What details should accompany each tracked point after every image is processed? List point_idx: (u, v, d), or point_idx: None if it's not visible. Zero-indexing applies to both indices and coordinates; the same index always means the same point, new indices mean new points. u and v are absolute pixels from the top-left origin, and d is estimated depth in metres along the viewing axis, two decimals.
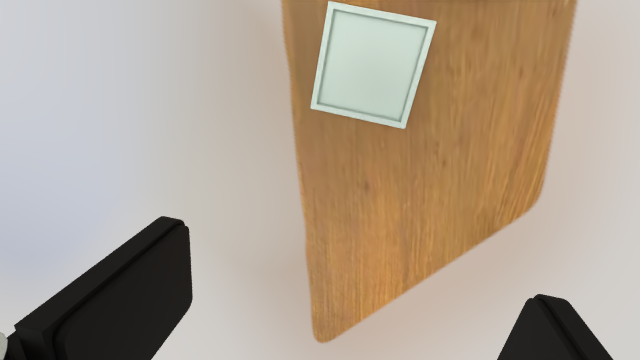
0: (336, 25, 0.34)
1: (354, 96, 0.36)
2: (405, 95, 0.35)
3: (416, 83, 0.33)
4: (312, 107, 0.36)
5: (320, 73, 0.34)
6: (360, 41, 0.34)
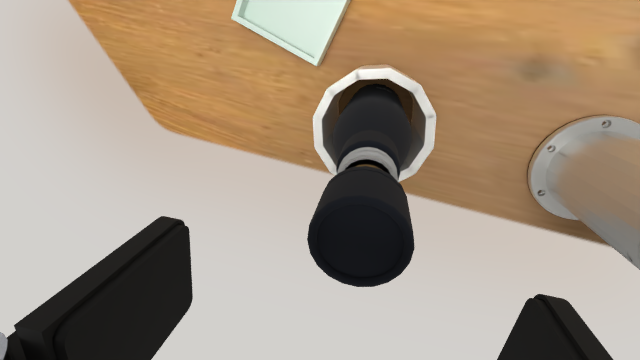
0: None
1: None
2: (264, 27, 0.36)
3: (269, 38, 0.35)
4: None
5: None
6: None
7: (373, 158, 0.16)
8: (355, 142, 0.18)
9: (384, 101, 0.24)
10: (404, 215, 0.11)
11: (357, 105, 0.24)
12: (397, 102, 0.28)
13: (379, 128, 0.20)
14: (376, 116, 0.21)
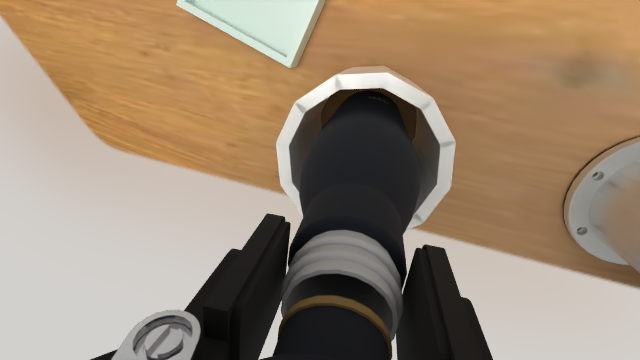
0: None
1: None
2: (222, 17, 0.28)
3: (228, 31, 0.27)
4: None
5: None
6: None
7: (351, 273, 0.07)
8: (321, 217, 0.09)
9: (378, 124, 0.15)
10: None
11: (336, 131, 0.15)
12: (397, 121, 0.19)
13: (368, 177, 0.12)
14: (364, 154, 0.13)
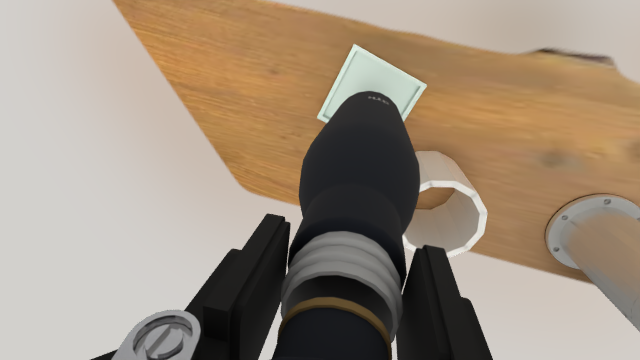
0: (408, 84, 0.43)
1: (352, 83, 0.44)
2: None
3: None
4: (354, 46, 0.41)
5: (378, 62, 0.41)
6: None
7: (350, 274, 0.07)
8: (320, 219, 0.09)
9: (378, 125, 0.15)
10: None
11: (335, 131, 0.15)
12: (397, 121, 0.19)
13: (368, 178, 0.12)
14: (364, 154, 0.13)
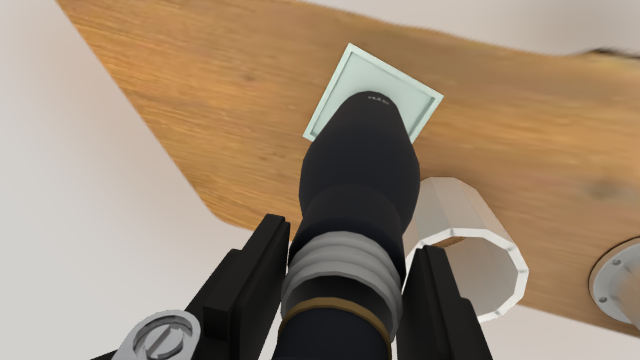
0: (419, 94, 0.33)
1: (347, 93, 0.35)
2: None
3: None
4: (349, 45, 0.31)
5: (381, 66, 0.32)
6: None
7: (350, 274, 0.07)
8: (320, 219, 0.09)
9: (378, 125, 0.15)
10: None
11: (335, 131, 0.15)
12: (397, 121, 0.19)
13: (368, 178, 0.12)
14: (364, 154, 0.13)
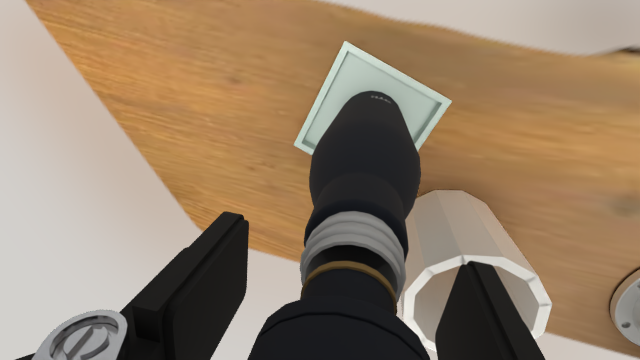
0: (424, 98, 0.30)
1: (342, 97, 0.31)
2: None
3: None
4: (344, 44, 0.28)
5: (381, 67, 0.28)
6: None
7: (361, 243, 0.09)
8: (333, 201, 0.11)
9: (381, 121, 0.17)
10: None
11: (342, 127, 0.17)
12: (399, 118, 0.21)
13: (373, 168, 0.13)
14: (369, 147, 0.14)
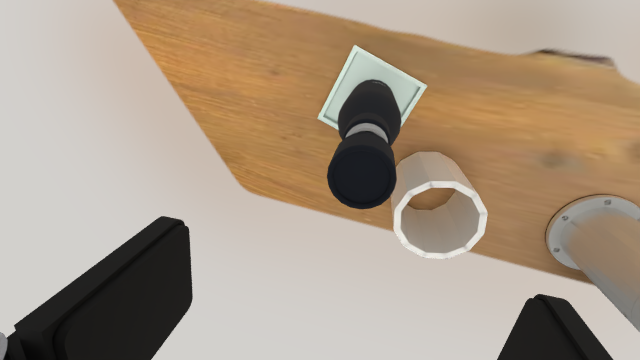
0: (409, 84, 0.43)
1: (352, 84, 0.44)
2: None
3: None
4: (354, 47, 0.41)
5: (379, 63, 0.41)
6: None
7: (370, 129, 0.22)
8: (356, 120, 0.24)
9: (378, 91, 0.30)
10: (390, 157, 0.17)
11: (357, 95, 0.30)
12: (389, 93, 0.34)
13: (374, 111, 0.26)
14: (372, 102, 0.27)
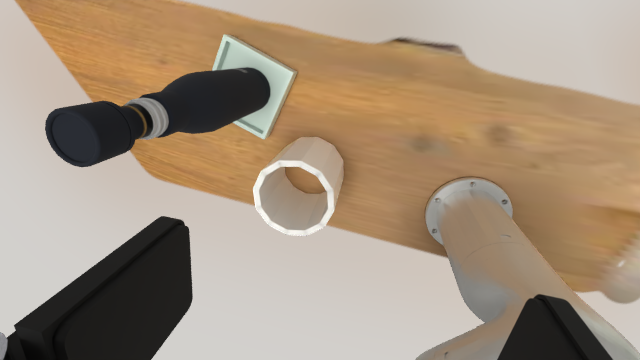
0: (281, 72, 0.45)
1: None
2: None
3: None
4: (224, 36, 0.43)
5: (247, 51, 0.44)
6: None
7: (136, 102, 0.24)
8: (142, 96, 0.26)
9: (202, 74, 0.32)
10: (90, 119, 0.19)
11: (181, 77, 0.32)
12: (231, 77, 0.36)
13: (175, 89, 0.29)
14: (181, 82, 0.30)
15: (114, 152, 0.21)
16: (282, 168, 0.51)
